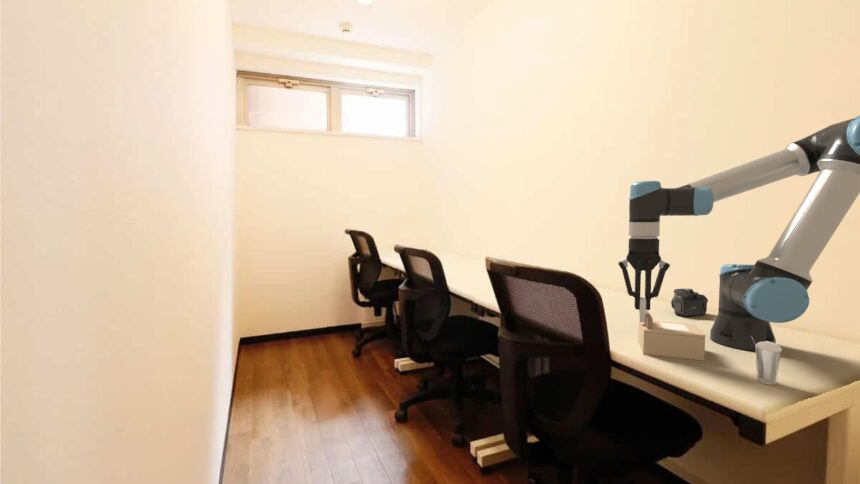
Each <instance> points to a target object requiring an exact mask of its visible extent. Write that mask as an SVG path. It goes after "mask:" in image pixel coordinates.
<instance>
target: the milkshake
mask: <svg viewBox="0 0 860 484" xmlns="http://www.w3.org/2000/svg"><path fill="white" fill-rule="evenodd" d="M751 337H752V336H751ZM752 339H753V338H752ZM753 341H754V340H753ZM754 343H755V342H754ZM755 348H756V351H755V362H756V366H755V367H756V381H758V382H759V383H760V384H763V385H769V386H775V385H777V380H778V374H779V368H780V362H781V357H782V351H783V348H782V347H781V346H780V345H779V344H777V343H776V344H775V343H773V342H769V341H765V342H758V343H757V344H755Z"/></svg>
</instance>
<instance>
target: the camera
mask: <svg viewBox="0 0 860 484" xmlns="http://www.w3.org/2000/svg"><path fill="white" fill-rule="evenodd" d="M673 294H674V295H673V297H672V299H671V300H670V301H671V302H670V305H671V308H672V309H673V310H674V314H675V315H677V316H681V317H692V316H693V317H694V316H703V315H706V313H707V310H708V307H707V306H708V303H709V299H708V298H707V297H706V296H705V295H704V294H700V293H699V292H697V291H694V289H693V288H675V289H673Z"/></svg>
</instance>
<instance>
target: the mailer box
mask: <svg viewBox="0 0 860 484" xmlns="http://www.w3.org/2000/svg"><path fill="white" fill-rule="evenodd" d="M637 340H638V344H639V347H640V350H641V352H642V354H643V355H648V356H659V357H668V358H676V359H686V360H695V361H697V360H698V361H705V350H706V336H705V337H695V336H684V335H673V334H662V333H650V332H644V331H643V329H642V327H641V325H640V323H639V322H638V339H637Z"/></svg>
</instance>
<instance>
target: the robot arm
mask: <svg viewBox="0 0 860 484" xmlns="http://www.w3.org/2000/svg"><path fill="white" fill-rule="evenodd" d="M814 173H817V174H818V175H817V176H816V178H815V180H814V181H813V183H812V184H811V186H810V187H809V189H808V191H807V192H806V194H805V196H804V197H803V199H802V201H800V203H799V205H798V207H797V209H796V210H795V212H794V214H793V215H792V217H791V219H790V220H789V221H788V223H787V225H786V227H785V228H784V230H783V232H782V233H781V235H780V237H778V240H777V241H776V243H775V245H774V246H773V248H772V250H771V251H770V253H769V255H767V256H766V257H763V258H760V259H757V260H756V262H755V264H739V263H738V264H723V265H722V266H721V267H720V270H719V271H720V272H719V274H718V277H719V287H718V288H719V290H718V310H717V311H718V313H717V316H716V318H715V319H714V322H713V324H712V327H711V329H710V333H709V339H710V340H711V341H713V342H714V343H717V344H719V345H722V346H725V347H730V348H734V349H735V348H736V349H738V350H739V349H740V350H747V351H755V352H756V348H755V344H757V343H758V342H765V341H769V342H773V343H775V344H777V343H776V342H777V341H776V340H777V339H776V337H775V334H774V331H773V328H772V325H771V323H775V324H783V323H789V322H792V321H794V320H796V319H798V318H800V317H801V316H803V315H804V314H805V312H806V311H807V309H808V308H809V305H810V297H809V293H808V289H809V288H810V286H811V284H812V283H813V279H812V276H811V274H810V271H811V269H812V268H813V267H814V266H815V263H816V262H817V261H818V259H819V257H820V255H821V254H822V252H823V251H824V249H825V248H826V246H827V244H828V243H829V242H830V240H831V238H832V237H833V235H834V234H835V232H836V230H837V229H838V228H839V226H840V225H841V223H842V222H843V220H844V219H845V217H846V215H847V213H848V212H849V210H850V209H851V208H852V206H853V204H854V203H855V201H856V200H857V198H858V197H859V194H860V114H859V115H857V116H855V117H854V118H849V119H846V120H844V121H840V122H836V123H833V124H830V125H828V126H826V127H824V128H822V129H820V130H818V131H815V132H814V133H812V134H810V135H807V136H805V137H803V138H800V139H798V140H796V141H794V142H791V143H788V144H786V146H785V147H784V149H782V150H779V151H776V152H774V153H771V154H769V155H765V156H762V157H760V158H757V159H754V160H751V161H749V162H746V163H745V162H744V163H743V164H740V165H737V166H735V167H732V168H729V169H725V170H723V171H720V172H718V173H714V174H712V175H710V176H707V177H704V178H701V179H698V180H696V181H693V182H689V183H687V184H686V185H682V186H679V187H674V188H673V187H669V188H667V187H666V188H665V187H662V185H661V182H660V181H658V180H645V181H644V180H643V181H642V180H641V181H635V182H633V183H631V185H630V187H629V189H630V190H629V191H630V192H629V198H628V200H629V205H628V206H629V208H628V209H629V211H628V213H629V214H628V215H629V217H628V219H629V222H628V223H629V224H628V236H629V238H628V253H627V254H626V258H625V259H623V260H620V261H618V262H617V264H618V266H619V268H620V269H621V272H622V275H623V278H624V283H625V287H626V291H627V295H629V296H630V297H633V298H634V309H635V310H638V323H639V322H645V323H646V311H650V310H651V300H652V299H653V298H658V297H659V294H660V291H661V288H662V285H663V282H664V278H665V275H666V272H667V271H668V270H669V268H670V267H671V264H670V263H668V262H666V261H664V260H662V257H661V255H660V239H659V238H658V237H659V236H660V235H661V233H660V230H661V229H660V228H661V225H660V223H661V219H660V218H661V216H664V217H666V216H667V217H668V216H669V217H673V216H675V217H677V216H679V217H680V216H681V217H683V216H686V217H688V216H689V217H690V216H691V217H692V216H695V217H697V216H708V215H710V214H711V212H712V211H713V209H714V203H716V202H718V201H721V200H724V199H725V200H726V199H728V198H730V197H734V196H737V195H739V194H742V193H745V192H749V191H751V190H755V189H758V188H761V187H763V186H766V185H769V184H772V183H775V182H778V181H782V180H784V179H787V178H791V177H793V176H799V177H804V176H807V175H811V174H814ZM628 263H629V265H630V266H631V267H632V269H633V270H634V291H633V288H632V284H631V279H630V276H629V272H628V266H629V265H628ZM657 265H658V268H659V269H658V272H657V274H656V275H657V276H656V279H655V282H654V285H653V289H652V273H653V270H654V269H655V268H656V266H657ZM643 271H644V297H642V296H641V288H642V287H641V284H642V283H641V280H642V272H643ZM751 336H752V337H751ZM752 338H753V339H752ZM753 340H754V341H753ZM754 342H755V343H754Z"/></svg>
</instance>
